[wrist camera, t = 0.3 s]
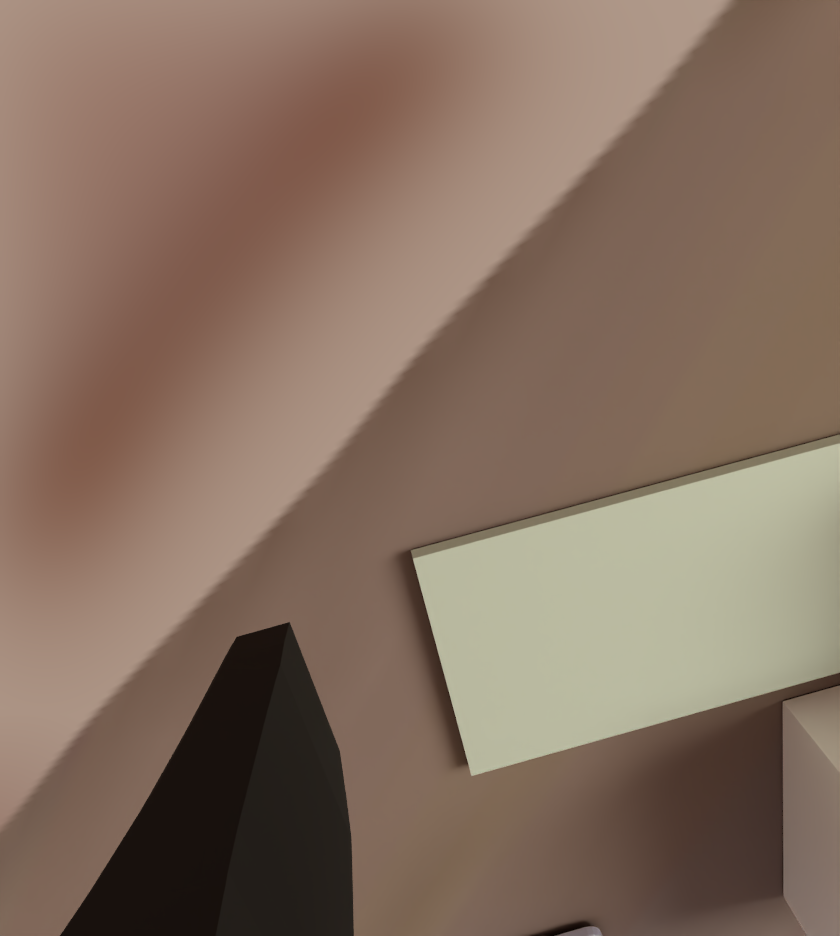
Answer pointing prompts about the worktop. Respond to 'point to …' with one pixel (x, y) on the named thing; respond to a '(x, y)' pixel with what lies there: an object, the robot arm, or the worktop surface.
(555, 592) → the mat
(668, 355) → the worktop surface
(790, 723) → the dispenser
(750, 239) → the worktop surface
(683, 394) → the worktop surface
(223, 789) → the robot arm
